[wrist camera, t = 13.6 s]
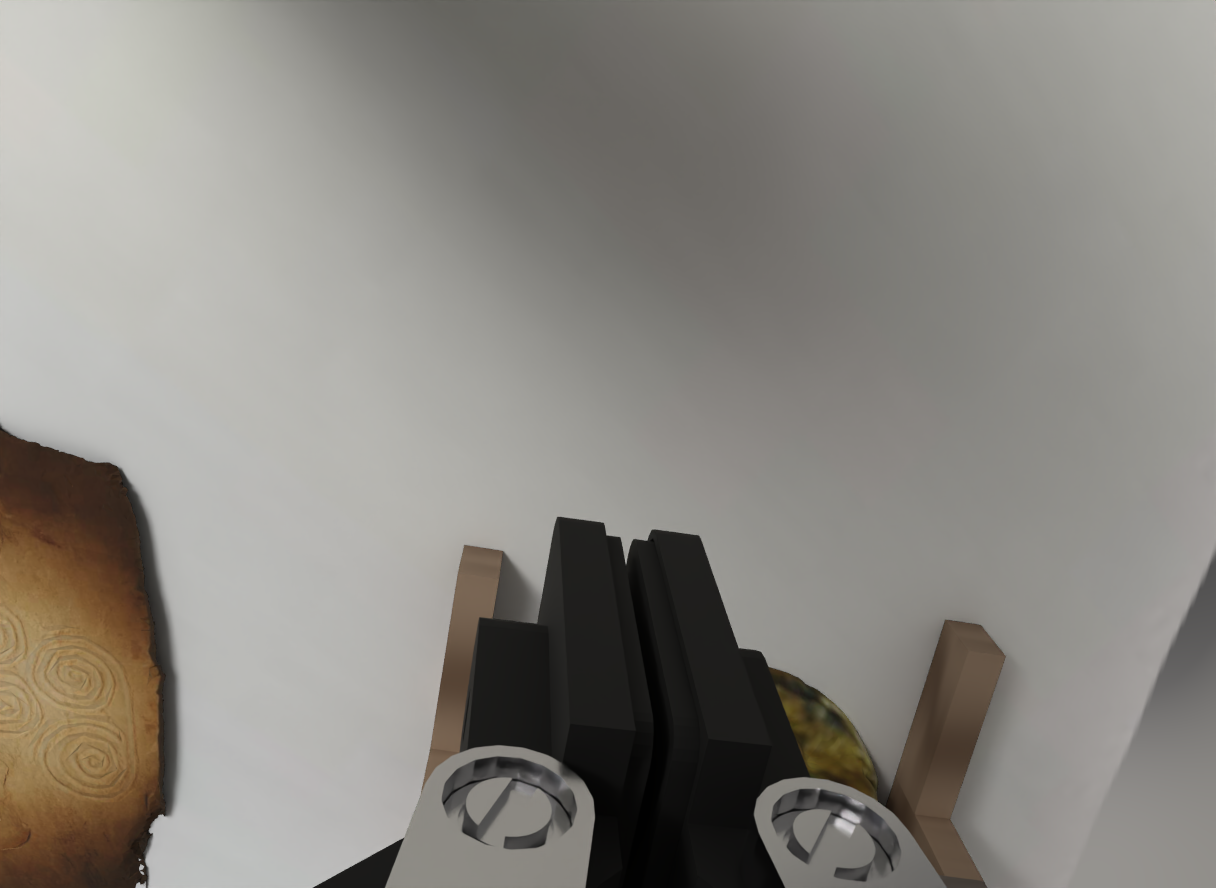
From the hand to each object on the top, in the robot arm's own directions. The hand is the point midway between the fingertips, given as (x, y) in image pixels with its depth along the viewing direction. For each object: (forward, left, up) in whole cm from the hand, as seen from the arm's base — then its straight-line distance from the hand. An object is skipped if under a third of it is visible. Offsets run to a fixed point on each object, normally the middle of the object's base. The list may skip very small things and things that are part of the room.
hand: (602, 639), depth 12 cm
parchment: (+21, -18, -27) cm, 38 cm away
